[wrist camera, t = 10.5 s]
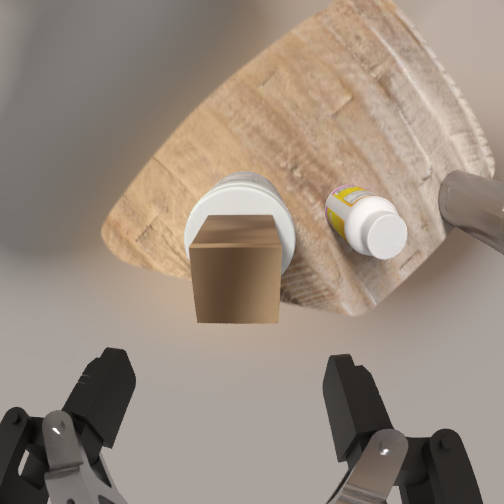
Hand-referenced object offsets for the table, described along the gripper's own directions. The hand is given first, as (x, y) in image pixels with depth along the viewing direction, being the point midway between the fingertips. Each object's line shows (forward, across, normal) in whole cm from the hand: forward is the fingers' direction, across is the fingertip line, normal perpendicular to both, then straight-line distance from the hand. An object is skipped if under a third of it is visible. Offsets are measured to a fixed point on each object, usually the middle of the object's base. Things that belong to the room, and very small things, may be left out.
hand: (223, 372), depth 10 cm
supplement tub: (+28, 0, 0) cm, 28 cm away
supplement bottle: (+28, -14, 0) cm, 32 cm away
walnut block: (+13, 0, 0) cm, 13 cm away
